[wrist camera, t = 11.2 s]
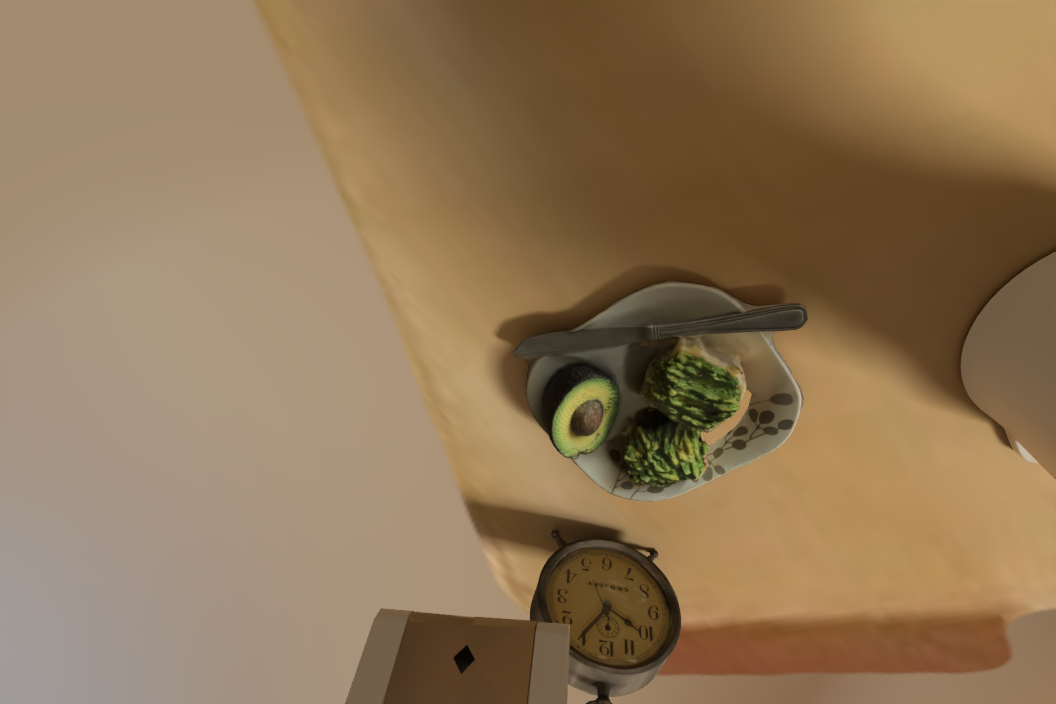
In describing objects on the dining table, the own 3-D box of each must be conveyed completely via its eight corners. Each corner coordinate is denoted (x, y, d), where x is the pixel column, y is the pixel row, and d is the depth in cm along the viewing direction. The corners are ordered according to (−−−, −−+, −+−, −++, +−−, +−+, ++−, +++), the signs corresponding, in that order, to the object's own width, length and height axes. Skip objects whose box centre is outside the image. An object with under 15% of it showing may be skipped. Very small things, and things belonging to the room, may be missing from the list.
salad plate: (737, 195, 37) (751, 225, 34) (864, 400, 44) (888, 445, 40) (485, 351, 45) (473, 390, 42) (625, 504, 52) (626, 550, 48)
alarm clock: (675, 541, 53) (697, 749, 40) (655, 581, 56) (670, 787, 43) (546, 513, 53) (525, 712, 40) (533, 555, 56) (509, 753, 43)
